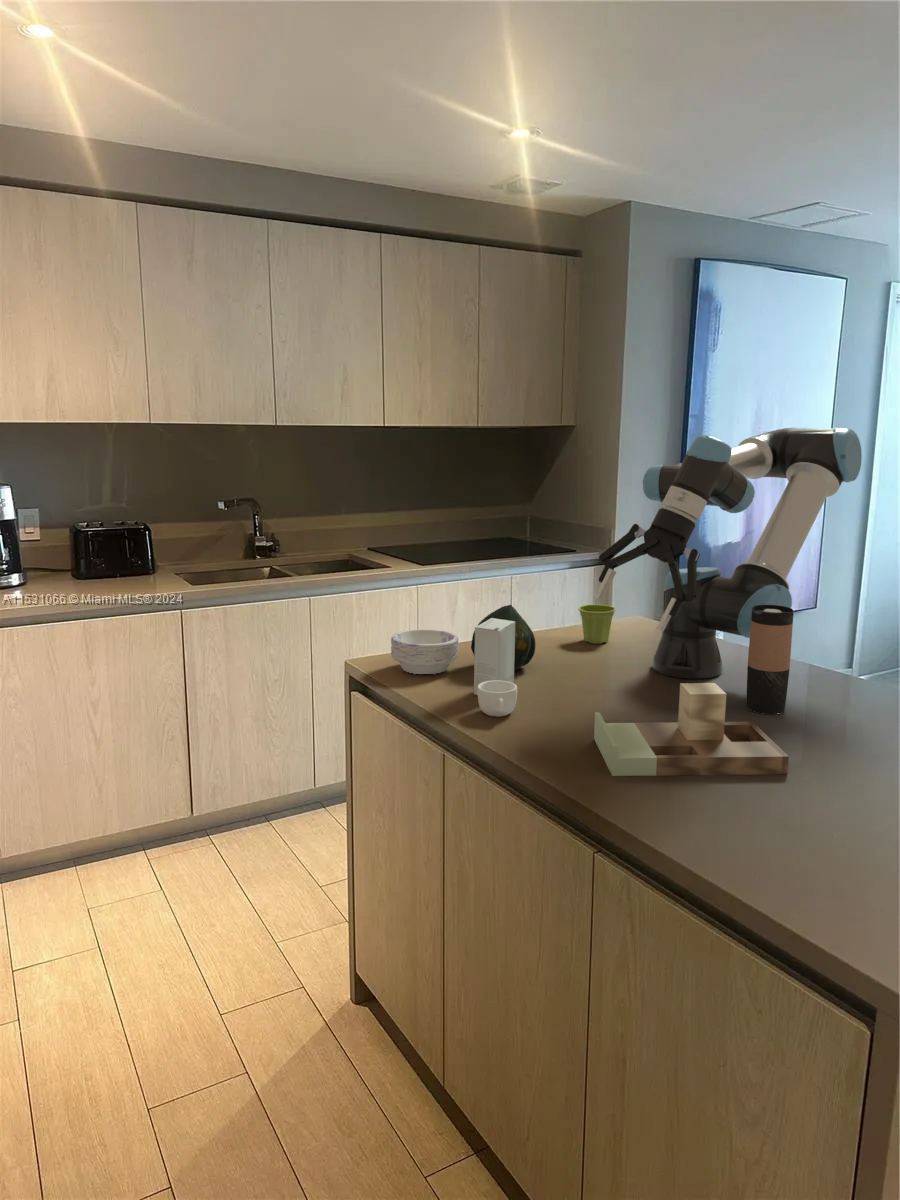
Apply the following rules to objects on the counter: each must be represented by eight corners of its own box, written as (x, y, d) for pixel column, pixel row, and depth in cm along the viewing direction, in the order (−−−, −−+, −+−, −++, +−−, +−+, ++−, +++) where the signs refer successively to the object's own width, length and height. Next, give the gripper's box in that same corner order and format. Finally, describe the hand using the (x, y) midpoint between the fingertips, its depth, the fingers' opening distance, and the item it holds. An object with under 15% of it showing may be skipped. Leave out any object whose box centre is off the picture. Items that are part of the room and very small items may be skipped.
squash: (469, 655, 186) (512, 602, 186) (452, 641, 200) (493, 592, 201) (515, 694, 190) (558, 642, 190) (496, 677, 204) (536, 629, 205)
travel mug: (787, 705, 169) (795, 606, 165) (784, 717, 163) (792, 614, 159) (747, 700, 173) (753, 603, 169) (742, 711, 166) (749, 610, 162)
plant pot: (576, 645, 216) (577, 611, 214) (577, 636, 225) (578, 603, 223) (614, 646, 214) (616, 612, 212) (614, 637, 223) (615, 604, 221)
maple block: (712, 727, 149) (714, 683, 148) (723, 739, 143) (726, 693, 142) (677, 727, 149) (680, 683, 147) (687, 740, 143) (690, 694, 142)
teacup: (475, 707, 170) (475, 680, 168) (513, 705, 170) (514, 679, 169) (480, 724, 160) (481, 696, 159) (521, 723, 160) (522, 695, 159)
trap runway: (751, 737, 152) (752, 721, 152) (787, 774, 137) (788, 756, 136) (633, 738, 152) (634, 722, 151) (656, 775, 136) (656, 757, 136)
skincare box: (489, 684, 184) (490, 617, 181) (515, 688, 181) (516, 620, 178) (472, 695, 176) (472, 625, 173) (499, 700, 174) (500, 628, 171)
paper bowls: (472, 669, 195) (472, 635, 193) (423, 684, 185) (423, 648, 183) (426, 656, 206) (425, 624, 204) (377, 670, 195) (376, 636, 193)
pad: (633, 738, 152) (634, 712, 151) (656, 775, 136) (657, 745, 135) (594, 739, 152) (595, 712, 151) (612, 775, 136) (613, 746, 135)
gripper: (615, 486, 166) (567, 585, 167) (736, 535, 154) (682, 641, 156) (626, 496, 172) (579, 590, 174) (743, 544, 161) (691, 645, 162)
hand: (628, 615), depth 165 cm, fingers open, 13 cm apart
